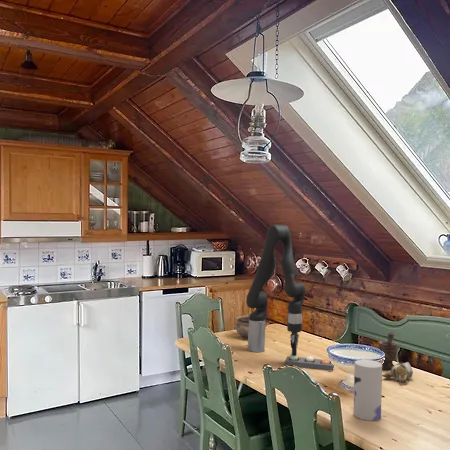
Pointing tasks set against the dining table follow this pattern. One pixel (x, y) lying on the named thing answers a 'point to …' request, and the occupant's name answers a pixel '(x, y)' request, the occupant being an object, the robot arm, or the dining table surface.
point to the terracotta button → (325, 362)
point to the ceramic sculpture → (400, 372)
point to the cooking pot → (243, 326)
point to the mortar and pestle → (388, 351)
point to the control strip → (309, 364)
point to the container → (367, 389)
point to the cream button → (310, 359)
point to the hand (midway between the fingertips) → (294, 355)
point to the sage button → (294, 357)
